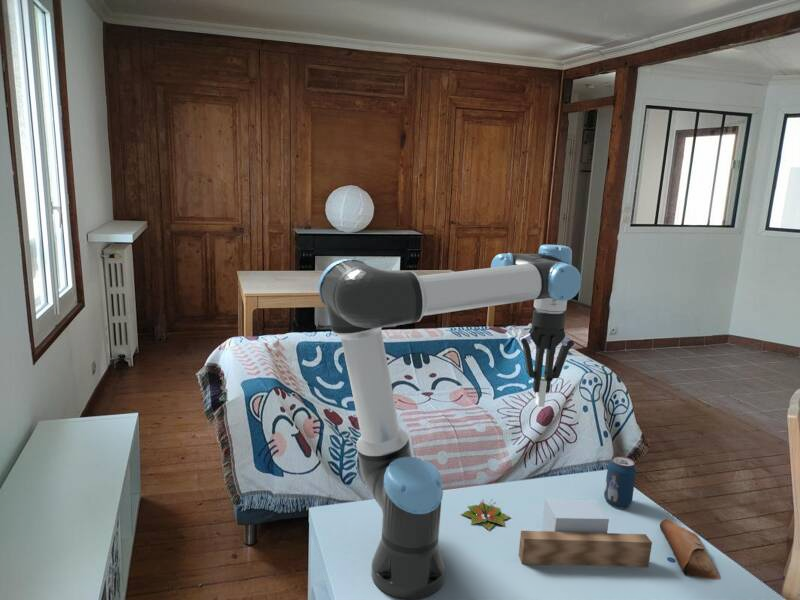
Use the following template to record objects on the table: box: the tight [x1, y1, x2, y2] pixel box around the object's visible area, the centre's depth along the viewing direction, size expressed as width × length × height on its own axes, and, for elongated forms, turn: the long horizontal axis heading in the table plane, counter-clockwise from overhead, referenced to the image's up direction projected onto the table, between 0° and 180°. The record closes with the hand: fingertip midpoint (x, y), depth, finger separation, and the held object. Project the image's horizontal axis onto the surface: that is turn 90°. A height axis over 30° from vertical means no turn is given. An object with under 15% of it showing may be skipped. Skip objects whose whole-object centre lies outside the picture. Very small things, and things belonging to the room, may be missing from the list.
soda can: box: [603, 455, 637, 509], centre depth 150 cm, size 7×7×12 cm
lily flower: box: [461, 498, 512, 531], centre depth 141 cm, size 12×12×5 cm
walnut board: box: [518, 530, 653, 568], centre depth 126 cm, size 28×3×6 cm, turn 92°
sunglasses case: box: [659, 518, 721, 581], centre depth 131 cm, size 18×7×7 cm, turn 171°
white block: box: [541, 498, 610, 533], centre depth 132 cm, size 12×8×9 cm, turn 93°
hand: (539, 404), depth 140 cm, fingers closed
